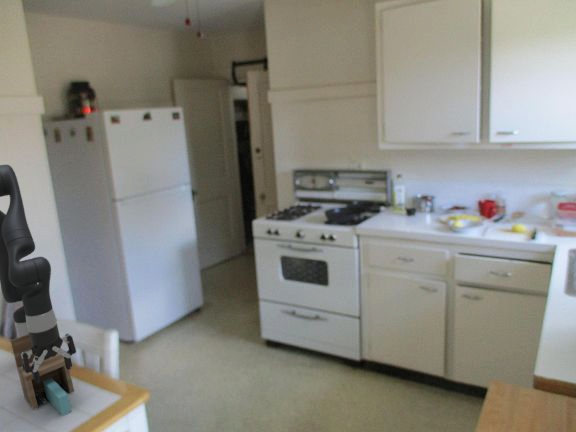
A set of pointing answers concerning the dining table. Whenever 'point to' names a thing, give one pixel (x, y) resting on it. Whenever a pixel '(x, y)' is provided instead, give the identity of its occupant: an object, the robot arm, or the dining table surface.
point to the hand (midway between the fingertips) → (53, 375)
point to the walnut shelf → (47, 370)
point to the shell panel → (57, 396)
